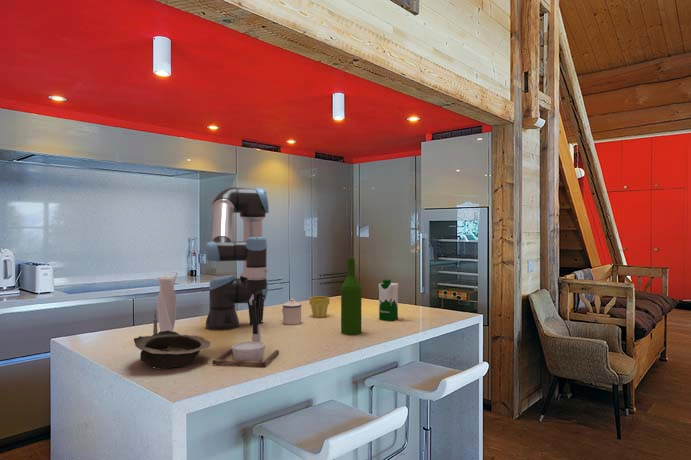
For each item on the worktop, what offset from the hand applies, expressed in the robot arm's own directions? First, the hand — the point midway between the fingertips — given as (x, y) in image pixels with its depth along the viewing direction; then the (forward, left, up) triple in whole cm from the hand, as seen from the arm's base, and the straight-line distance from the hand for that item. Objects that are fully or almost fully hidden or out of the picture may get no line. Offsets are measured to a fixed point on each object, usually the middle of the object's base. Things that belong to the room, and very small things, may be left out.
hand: (256, 341), depth 166 cm
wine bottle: (+31, +34, -4) cm, 47 cm away
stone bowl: (-24, -17, -4) cm, 29 cm away
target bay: (0, -10, -4) cm, 10 cm away
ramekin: (+1, -11, -4) cm, 11 cm away
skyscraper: (-43, +12, -4) cm, 45 cm away
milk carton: (+46, +65, -4) cm, 80 cm away
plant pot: (+10, +68, -4) cm, 69 cm away
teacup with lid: (-1, +51, -4) cm, 52 cm away
